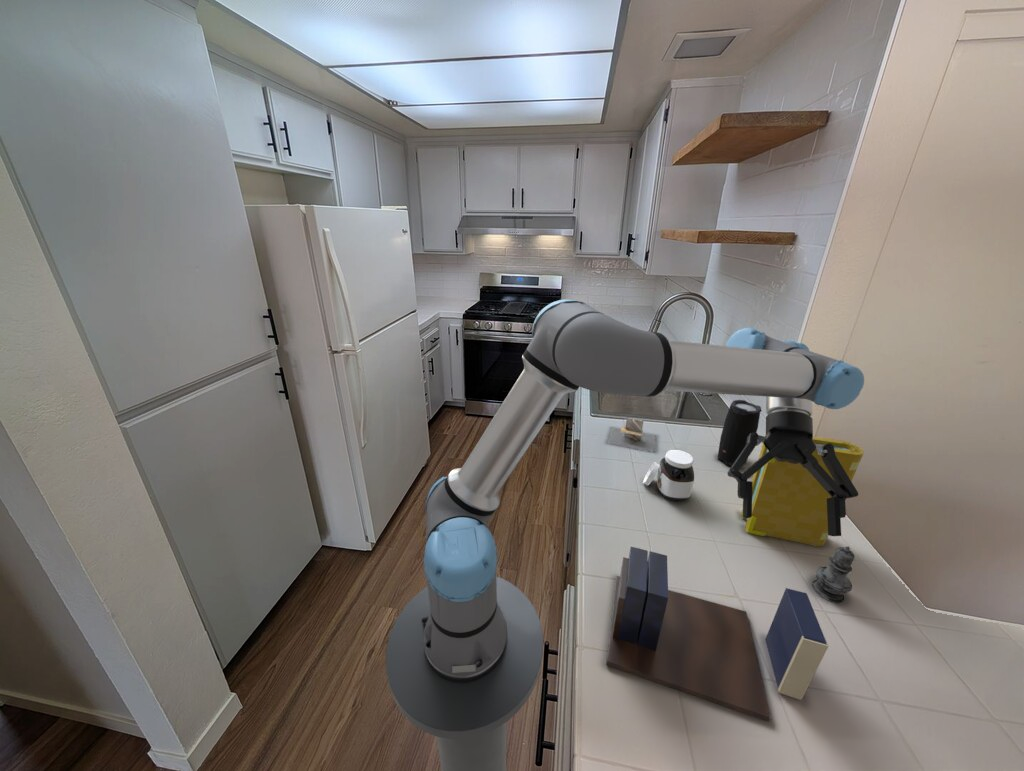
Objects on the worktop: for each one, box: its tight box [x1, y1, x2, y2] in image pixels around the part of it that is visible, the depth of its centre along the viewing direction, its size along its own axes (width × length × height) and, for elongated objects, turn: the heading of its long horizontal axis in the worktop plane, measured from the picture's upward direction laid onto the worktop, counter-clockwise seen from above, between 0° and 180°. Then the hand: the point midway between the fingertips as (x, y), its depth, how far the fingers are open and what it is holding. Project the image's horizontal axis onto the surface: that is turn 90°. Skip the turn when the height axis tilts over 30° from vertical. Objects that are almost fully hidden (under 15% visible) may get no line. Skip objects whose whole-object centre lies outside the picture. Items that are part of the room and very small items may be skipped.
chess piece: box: [811, 546, 856, 604], centre depth 76 cm, size 6×6×12 cm
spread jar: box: [642, 449, 695, 501], centre depth 105 cm, size 12×11×12 cm
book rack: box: [605, 546, 771, 722], centre depth 66 cm, size 24×18×14 cm
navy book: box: [764, 587, 829, 701], centre depth 62 cm, size 3×9×13 cm, turn 161°
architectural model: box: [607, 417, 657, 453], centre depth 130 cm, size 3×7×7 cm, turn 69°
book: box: [740, 433, 865, 547], centre depth 88 cm, size 17×7×25 cm, turn 72°
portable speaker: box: [717, 399, 762, 468], centre depth 116 cm, size 9×9×20 cm
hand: (789, 526), depth 69 cm, fingers open, 13 cm apart
